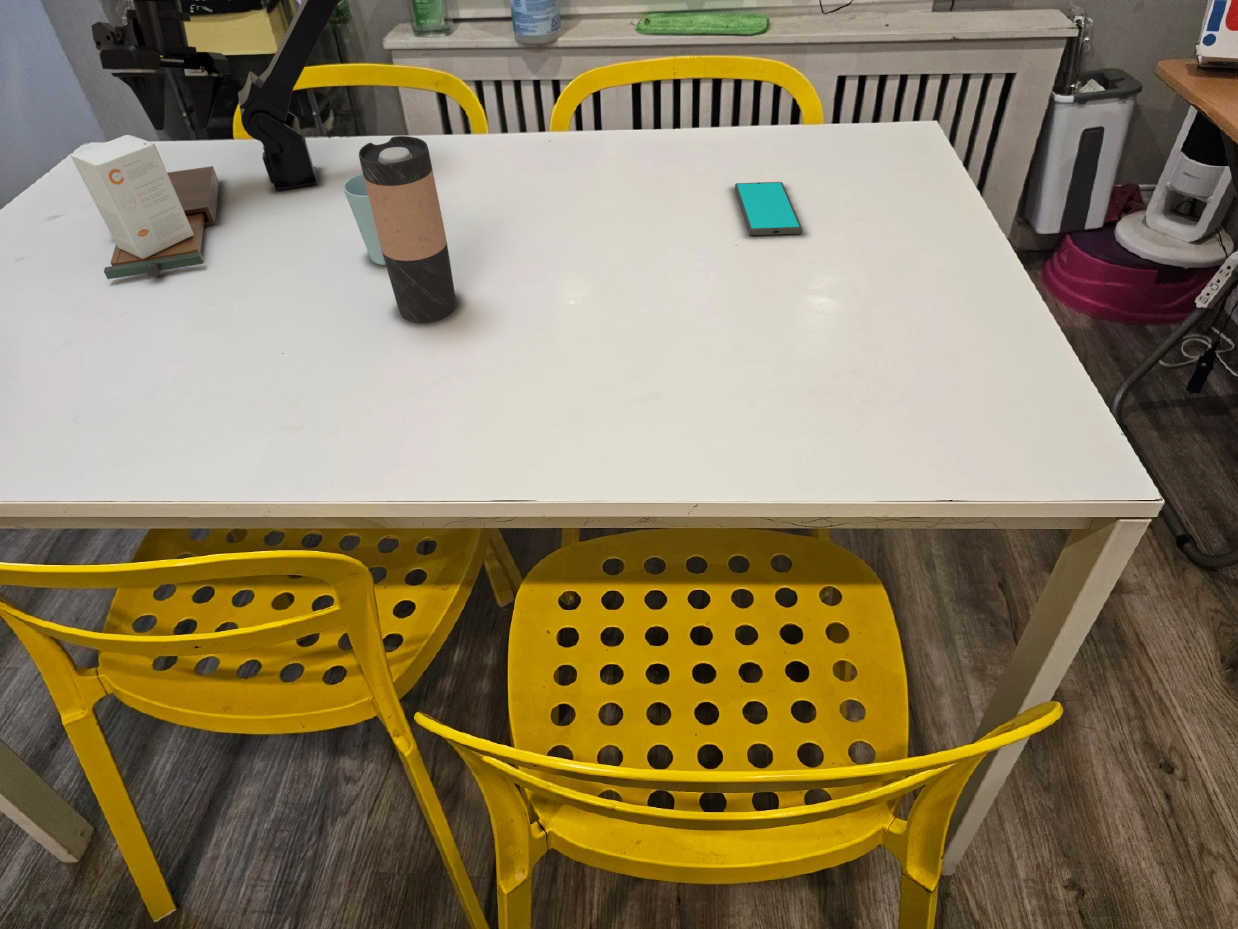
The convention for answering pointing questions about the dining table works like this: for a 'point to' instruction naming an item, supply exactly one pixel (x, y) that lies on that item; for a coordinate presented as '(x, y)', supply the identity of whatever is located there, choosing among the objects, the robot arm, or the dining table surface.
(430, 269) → the travel mug
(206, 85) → the robot arm
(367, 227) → the cup
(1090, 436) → the dining table surface
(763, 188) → the smartphone
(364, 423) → the dining table surface
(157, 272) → the drawer
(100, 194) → the small box
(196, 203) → the cabinet
